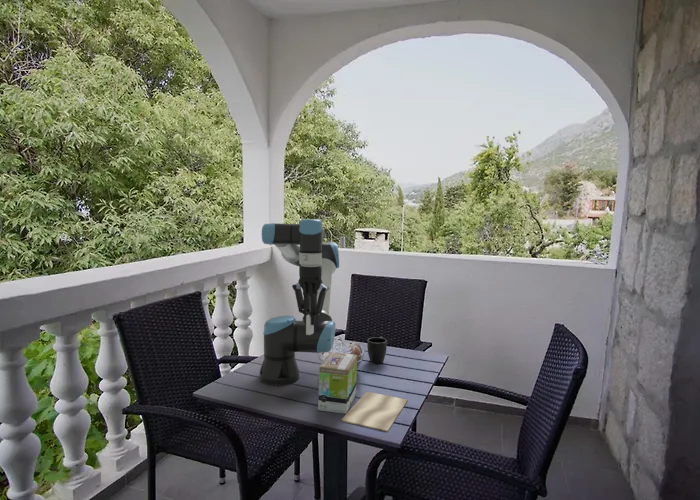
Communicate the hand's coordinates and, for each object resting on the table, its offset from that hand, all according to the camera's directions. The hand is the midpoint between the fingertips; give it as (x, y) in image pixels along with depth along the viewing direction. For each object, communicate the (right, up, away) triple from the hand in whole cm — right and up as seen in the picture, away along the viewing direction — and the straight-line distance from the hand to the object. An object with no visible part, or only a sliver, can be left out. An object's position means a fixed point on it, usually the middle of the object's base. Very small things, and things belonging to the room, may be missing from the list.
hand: (309, 333), depth 142 cm
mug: (+26, -19, +38) cm, 50 cm away
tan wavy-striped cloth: (+22, -23, -7) cm, 33 cm away
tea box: (+10, -23, -2) cm, 25 cm away
